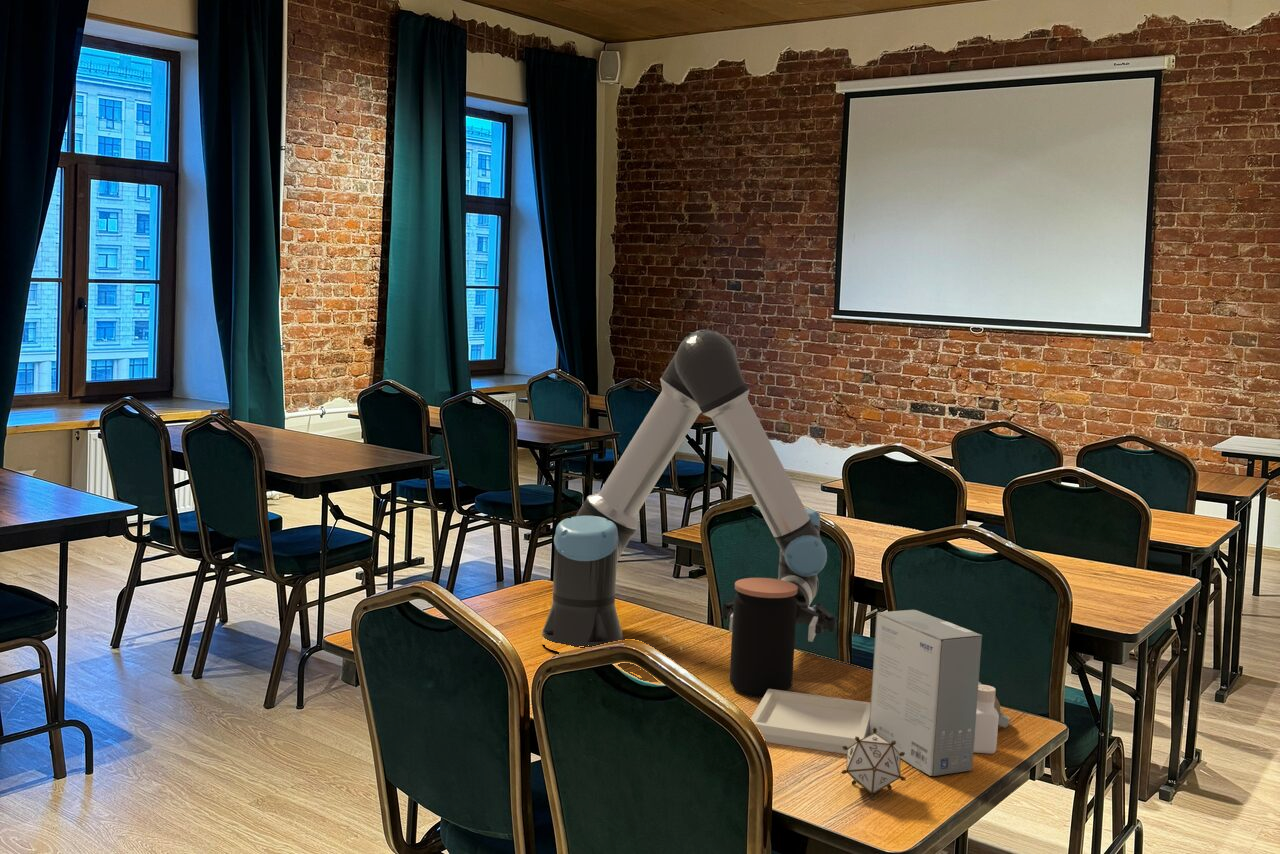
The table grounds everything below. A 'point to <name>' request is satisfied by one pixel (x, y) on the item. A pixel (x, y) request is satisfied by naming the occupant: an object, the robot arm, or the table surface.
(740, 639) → the coffee jar
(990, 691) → the pepper shaker
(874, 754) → the game die
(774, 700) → the tray
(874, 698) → the hard drive box
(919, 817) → the table surface
